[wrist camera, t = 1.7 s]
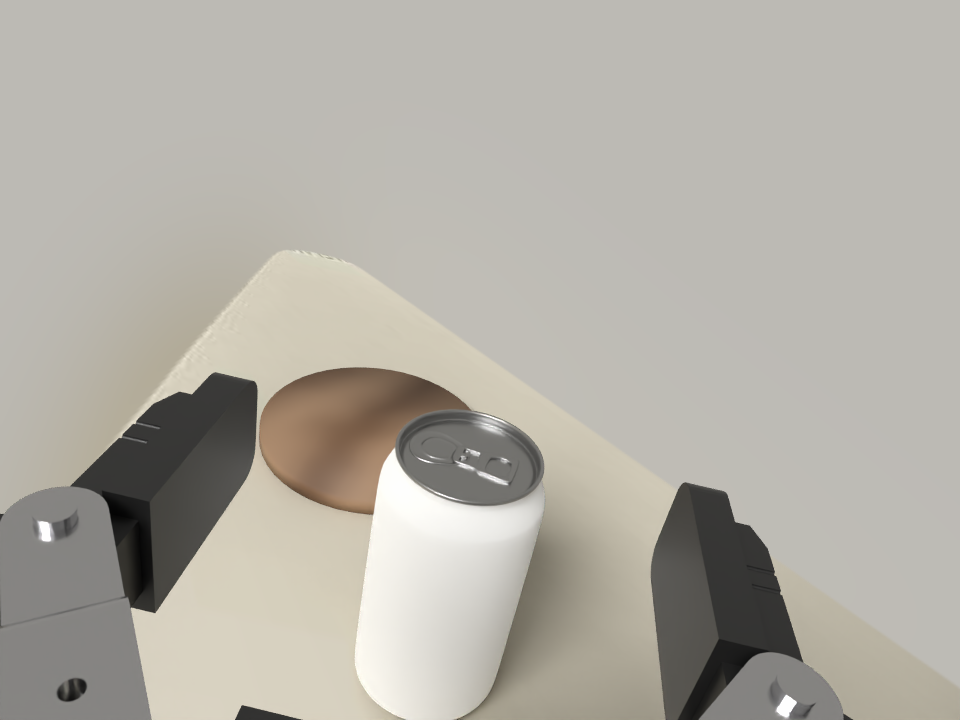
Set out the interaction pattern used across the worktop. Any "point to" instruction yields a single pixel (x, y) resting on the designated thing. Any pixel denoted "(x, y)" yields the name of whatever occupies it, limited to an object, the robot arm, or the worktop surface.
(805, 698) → the robot arm
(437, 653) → the can
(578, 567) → the worktop surface
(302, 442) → the disc
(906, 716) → the worktop surface
